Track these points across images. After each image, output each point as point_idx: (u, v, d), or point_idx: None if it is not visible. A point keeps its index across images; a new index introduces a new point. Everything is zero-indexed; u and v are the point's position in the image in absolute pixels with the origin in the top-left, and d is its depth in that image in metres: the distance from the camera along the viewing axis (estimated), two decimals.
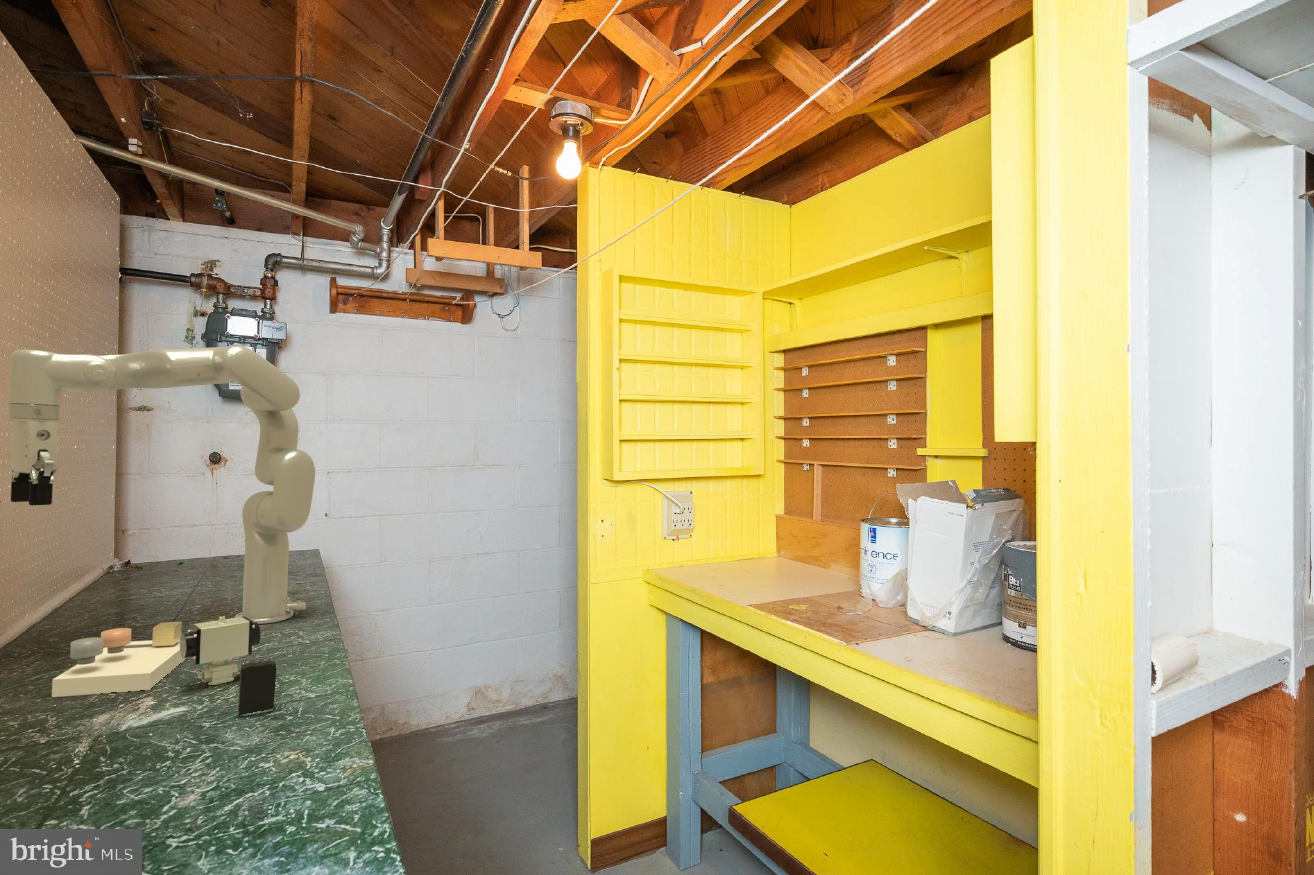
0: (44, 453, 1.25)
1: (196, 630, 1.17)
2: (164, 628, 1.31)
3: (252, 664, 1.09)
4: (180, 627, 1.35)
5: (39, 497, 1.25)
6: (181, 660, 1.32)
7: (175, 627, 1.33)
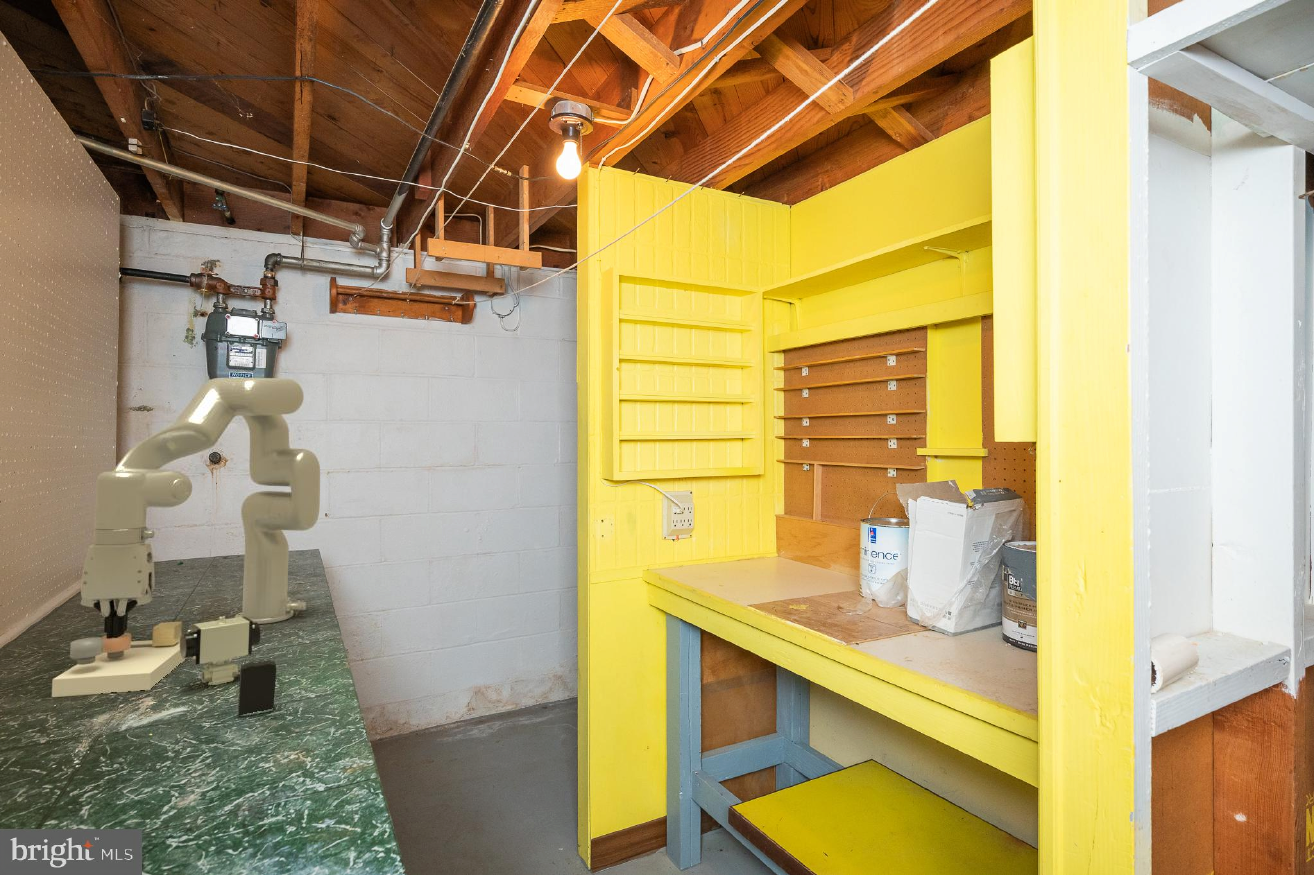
0: None
1: (196, 630, 1.17)
2: (164, 628, 1.31)
3: (252, 664, 1.09)
4: (180, 627, 1.35)
5: (124, 628, 1.24)
6: (181, 660, 1.32)
7: (175, 627, 1.33)
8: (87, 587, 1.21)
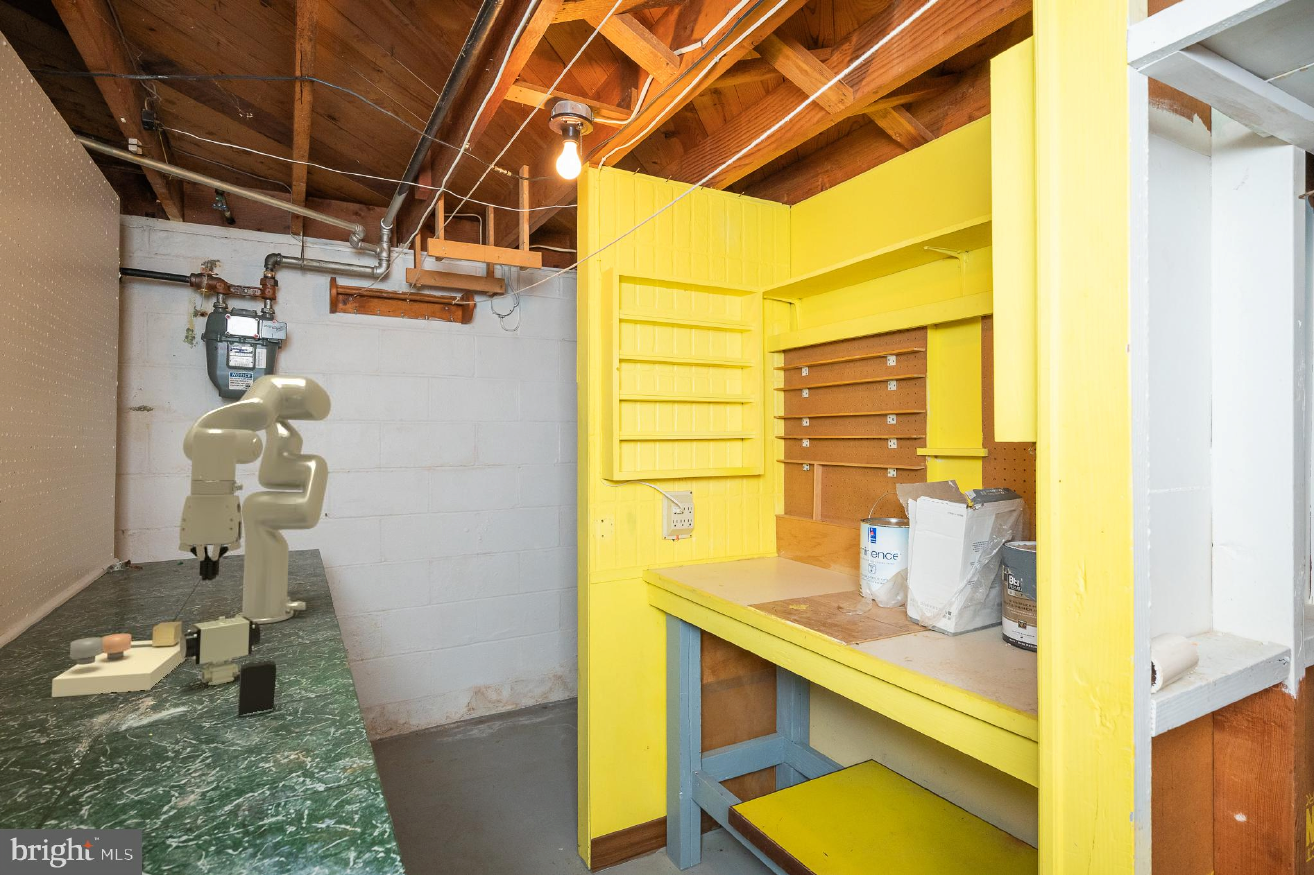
0: None
1: (196, 630, 1.17)
2: (164, 628, 1.31)
3: (252, 664, 1.09)
4: (180, 627, 1.35)
5: (216, 572, 1.35)
6: (181, 660, 1.32)
7: (175, 627, 1.33)
8: (185, 533, 1.32)
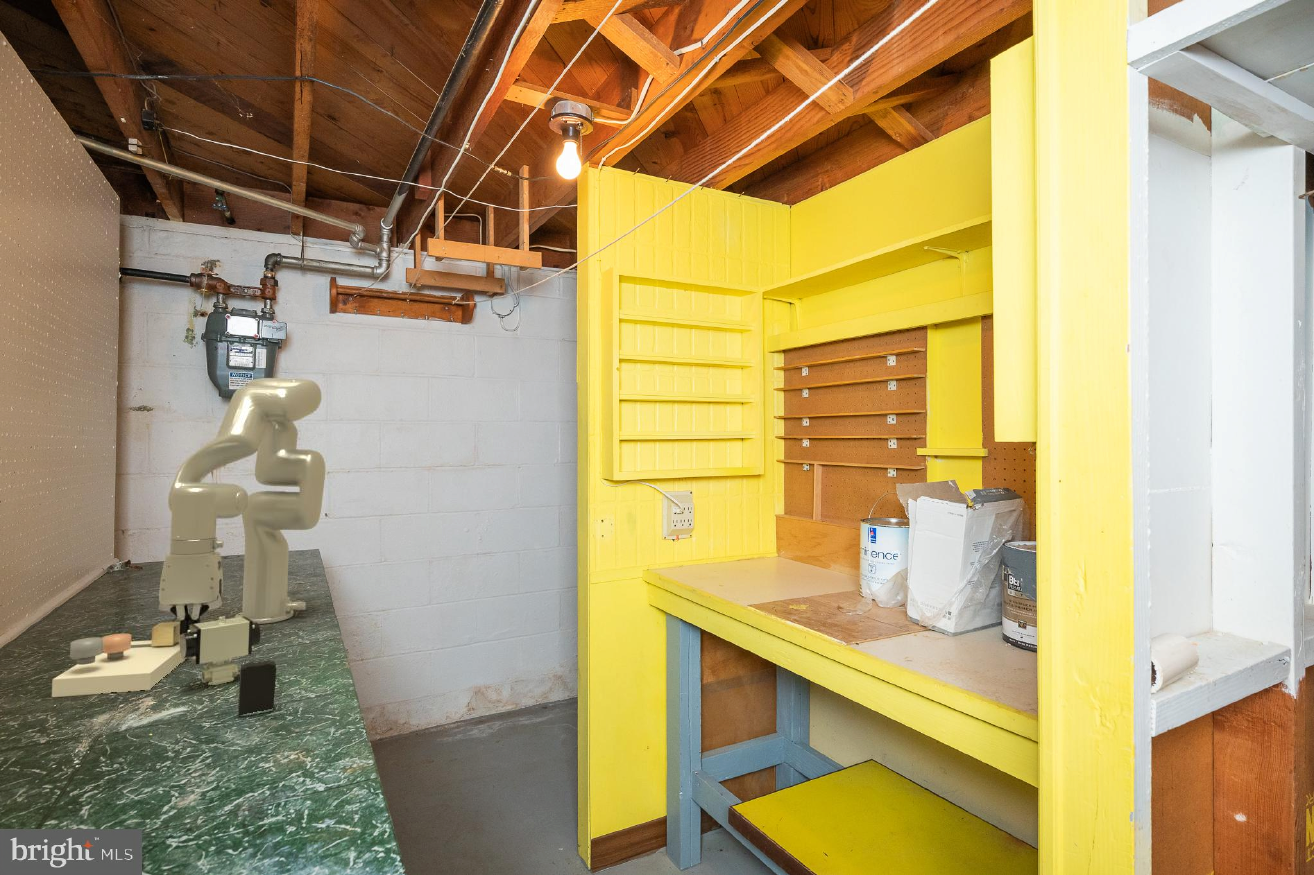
0: None
1: (196, 630, 1.17)
2: (163, 628, 1.31)
3: (252, 664, 1.09)
4: (179, 627, 1.35)
5: None
6: (181, 660, 1.32)
7: (174, 627, 1.32)
8: (165, 593, 1.31)
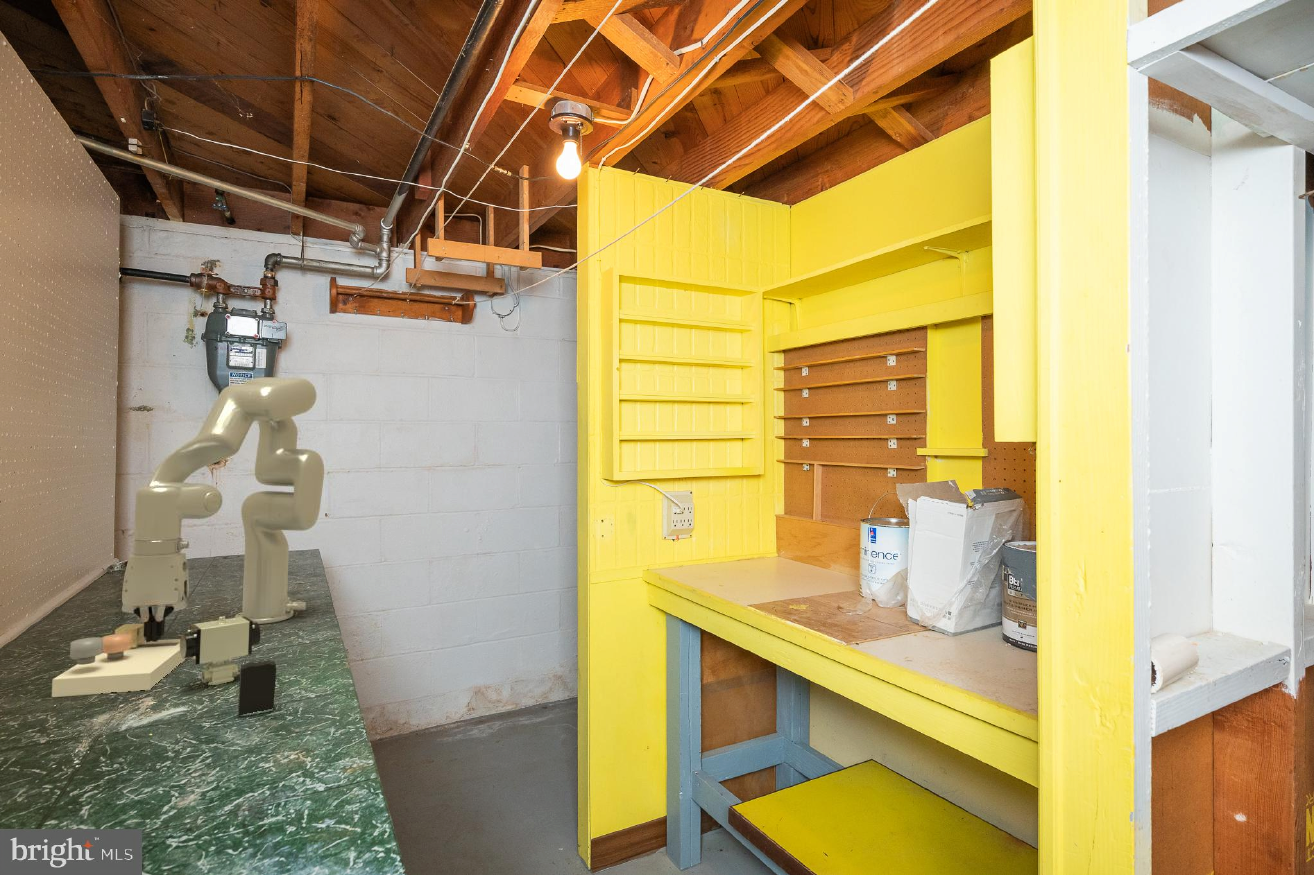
0: None
1: (196, 630, 1.17)
2: (126, 630, 1.30)
3: (252, 664, 1.09)
4: None
5: (162, 632, 1.33)
6: (181, 660, 1.32)
7: (138, 629, 1.31)
8: (128, 594, 1.29)
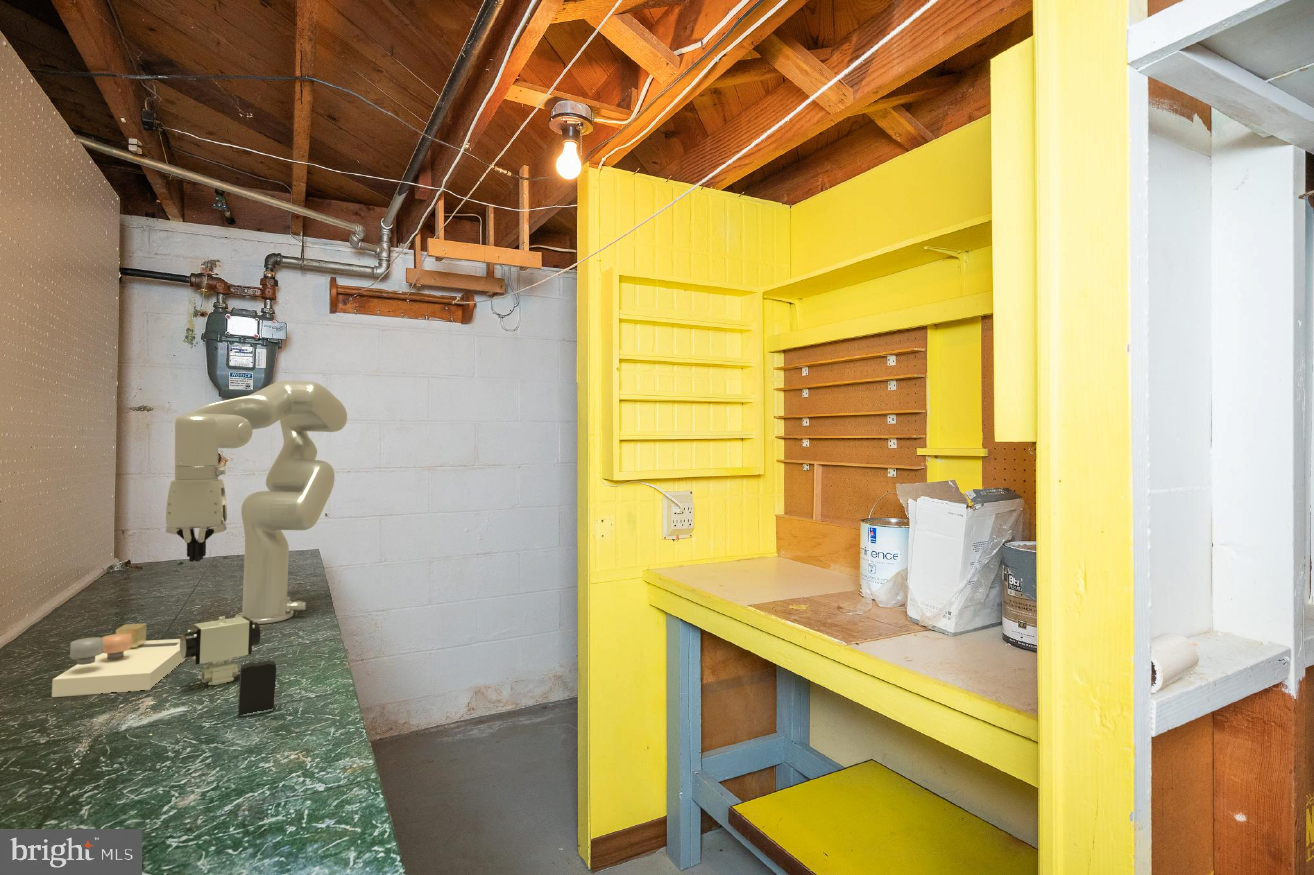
0: None
1: (196, 630, 1.17)
2: (127, 630, 1.30)
3: (252, 664, 1.09)
4: (145, 629, 1.33)
5: (203, 553, 1.41)
6: (181, 660, 1.32)
7: (139, 629, 1.31)
8: (171, 517, 1.37)
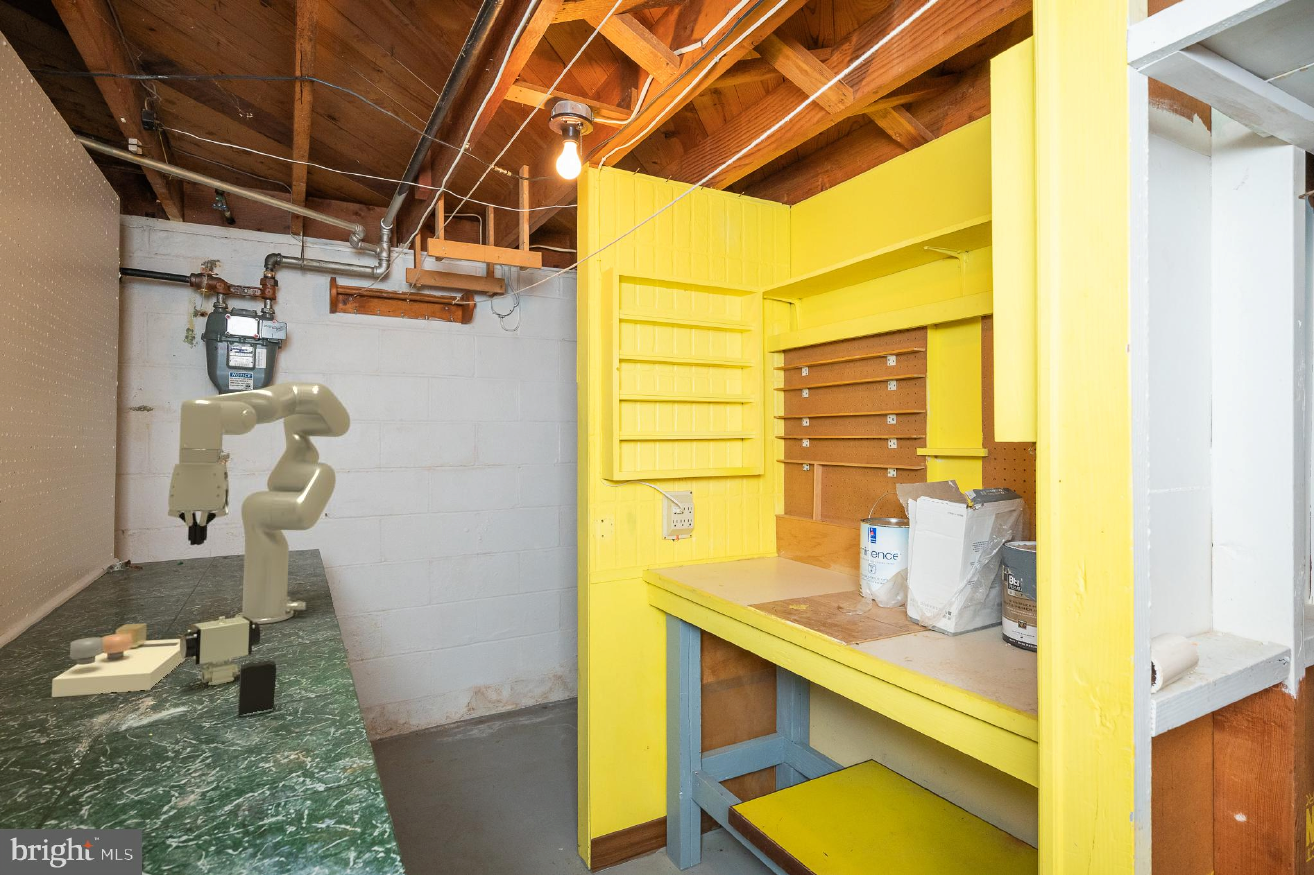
0: None
1: (196, 630, 1.17)
2: (127, 630, 1.30)
3: (252, 664, 1.09)
4: (145, 629, 1.33)
5: (204, 537, 1.41)
6: (181, 660, 1.32)
7: (139, 629, 1.31)
8: (174, 499, 1.38)
